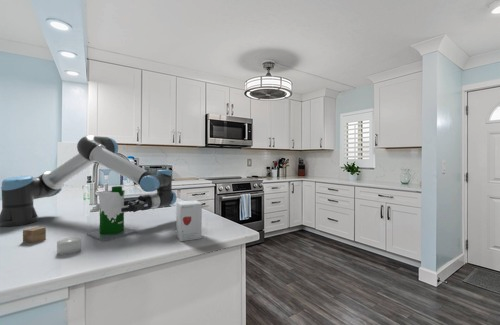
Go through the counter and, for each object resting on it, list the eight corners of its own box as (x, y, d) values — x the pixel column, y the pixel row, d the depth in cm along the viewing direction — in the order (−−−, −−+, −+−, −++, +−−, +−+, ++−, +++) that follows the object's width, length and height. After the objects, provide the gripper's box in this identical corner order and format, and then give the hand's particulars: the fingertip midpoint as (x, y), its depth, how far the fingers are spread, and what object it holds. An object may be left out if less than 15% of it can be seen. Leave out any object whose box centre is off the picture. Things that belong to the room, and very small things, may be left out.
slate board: (87, 235, 107) (87, 233, 107) (119, 227, 119) (119, 225, 119) (103, 241, 99) (103, 239, 99) (136, 232, 111) (136, 230, 111)
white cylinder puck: (53, 252, 88) (53, 241, 88) (75, 246, 94) (75, 236, 94) (62, 256, 84) (61, 245, 84) (84, 250, 90) (84, 239, 90)
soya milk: (118, 234, 105) (117, 188, 105) (96, 235, 105) (95, 188, 104) (126, 228, 114) (126, 185, 113) (106, 229, 113) (106, 185, 113)
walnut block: (22, 242, 98) (22, 229, 98) (36, 238, 103) (36, 226, 103) (32, 243, 97) (32, 230, 97) (45, 239, 102) (45, 227, 101)
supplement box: (180, 242, 99) (180, 205, 99) (175, 235, 107) (175, 201, 107) (202, 238, 104) (202, 203, 103) (196, 232, 112) (196, 199, 111)
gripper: (164, 212, 117) (120, 222, 99) (133, 206, 131) (90, 214, 113) (164, 196, 117) (120, 203, 99) (133, 192, 130) (90, 197, 113)
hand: (104, 209), depth 106 cm, fingers open, 13 cm apart
